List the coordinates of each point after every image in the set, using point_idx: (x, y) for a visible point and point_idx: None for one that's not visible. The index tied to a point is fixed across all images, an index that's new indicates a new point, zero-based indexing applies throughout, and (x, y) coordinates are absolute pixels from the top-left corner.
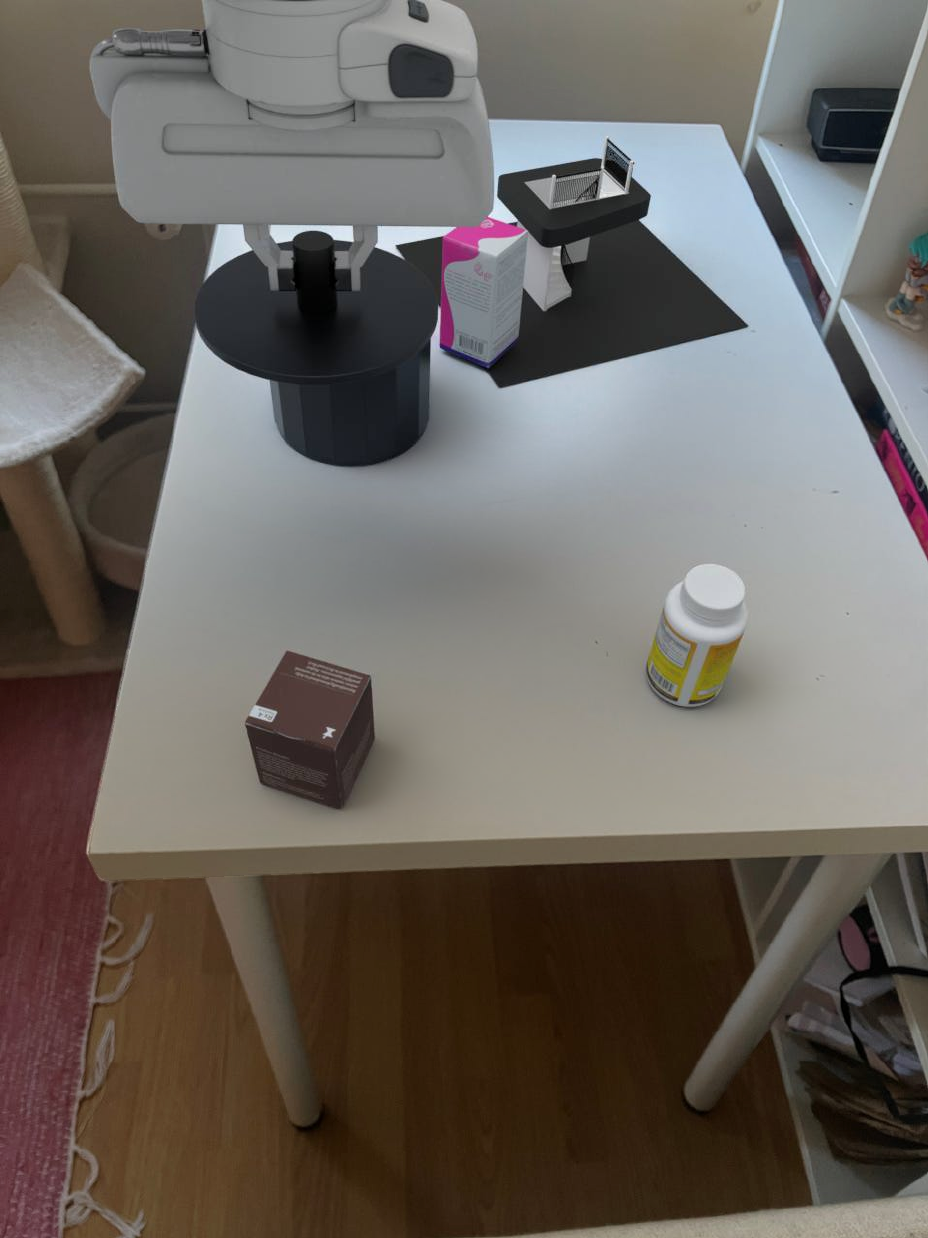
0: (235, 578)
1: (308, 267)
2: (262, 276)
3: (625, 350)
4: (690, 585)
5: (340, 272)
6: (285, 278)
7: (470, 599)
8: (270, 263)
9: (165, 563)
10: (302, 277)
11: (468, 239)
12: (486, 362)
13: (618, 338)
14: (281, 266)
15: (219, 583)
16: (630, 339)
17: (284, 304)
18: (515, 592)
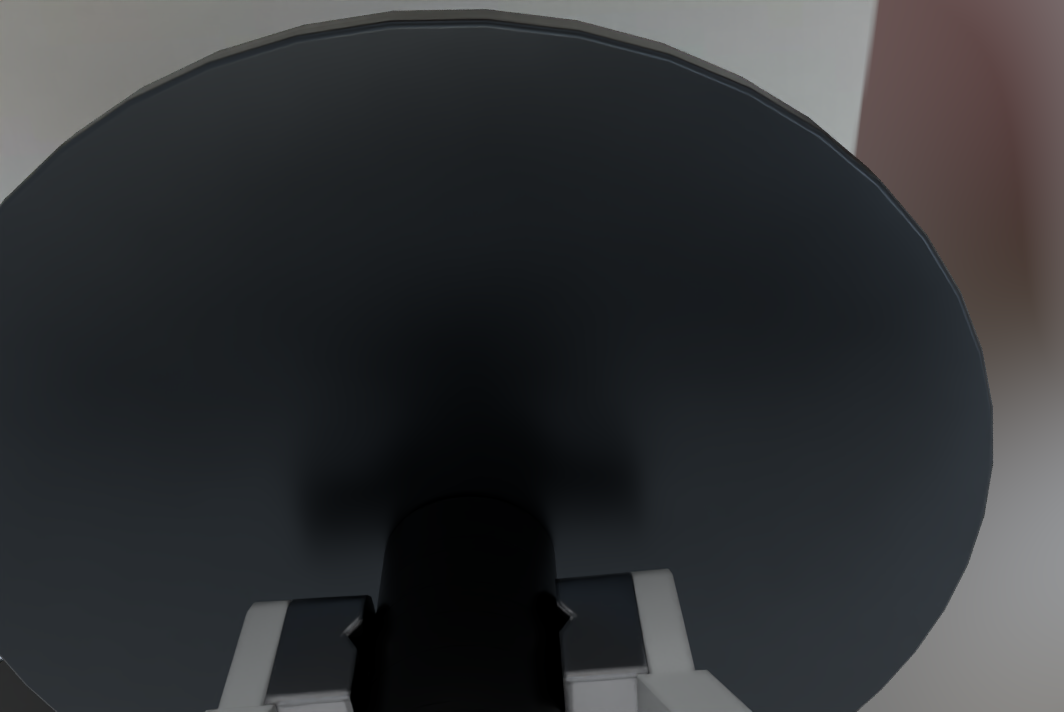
0: (697, 40)
1: (479, 679)
2: (707, 669)
3: (5, 672)
4: None
5: (324, 674)
6: (602, 621)
7: (168, 6)
8: (682, 684)
9: (847, 75)
10: (517, 633)
11: None
12: None
13: (27, 696)
14: (624, 676)
15: (731, 23)
16: (3, 696)
17: (607, 535)
18: (70, 34)
